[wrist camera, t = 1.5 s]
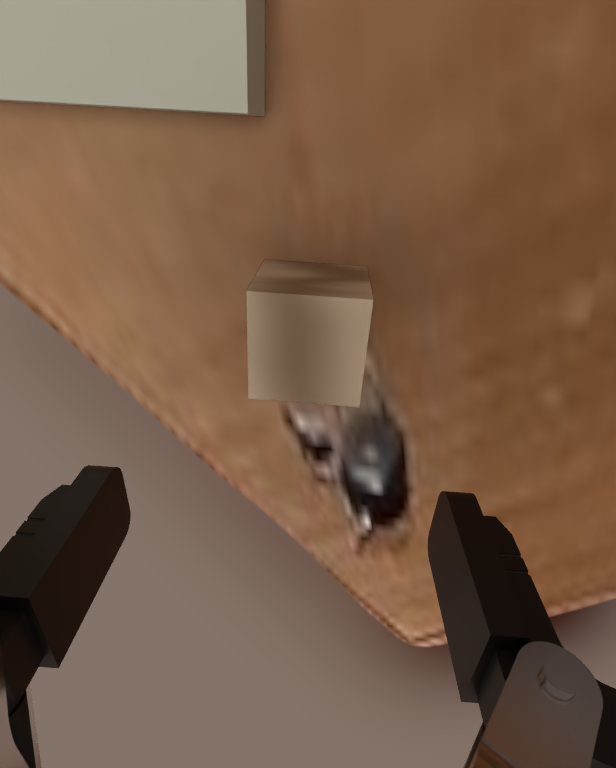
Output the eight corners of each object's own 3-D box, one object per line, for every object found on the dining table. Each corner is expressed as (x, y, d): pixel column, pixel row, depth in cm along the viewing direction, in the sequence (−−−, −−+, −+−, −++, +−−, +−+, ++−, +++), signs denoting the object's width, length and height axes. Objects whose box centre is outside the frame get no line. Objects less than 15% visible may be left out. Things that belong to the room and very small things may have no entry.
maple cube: (366, 265, 22) (373, 300, 17) (355, 357, 24) (359, 407, 20) (265, 259, 22) (246, 291, 17) (265, 350, 24) (248, 398, 20)
